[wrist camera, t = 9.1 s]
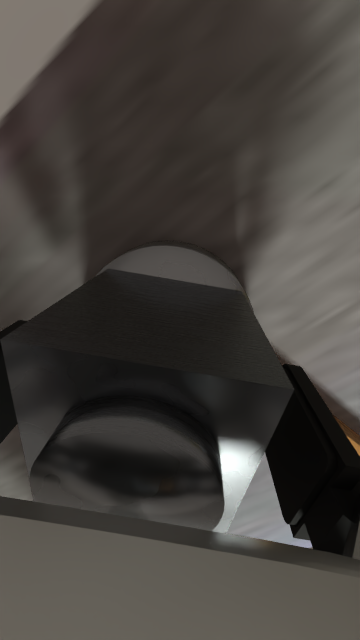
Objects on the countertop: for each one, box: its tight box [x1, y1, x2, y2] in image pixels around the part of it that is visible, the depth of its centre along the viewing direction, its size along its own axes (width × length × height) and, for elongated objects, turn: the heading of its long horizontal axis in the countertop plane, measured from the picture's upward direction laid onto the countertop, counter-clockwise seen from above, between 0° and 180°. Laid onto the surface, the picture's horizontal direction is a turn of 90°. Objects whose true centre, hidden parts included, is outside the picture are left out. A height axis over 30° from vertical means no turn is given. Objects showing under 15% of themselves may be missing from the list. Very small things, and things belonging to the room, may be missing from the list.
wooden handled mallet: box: [95, 241, 360, 456], centre depth 13 cm, size 22×9×5 cm, turn 51°
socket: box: [0, 268, 294, 533], centre depth 9 cm, size 6×6×8 cm
